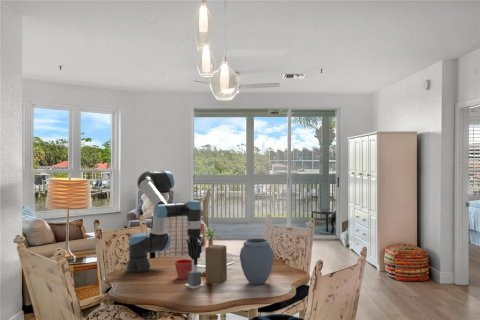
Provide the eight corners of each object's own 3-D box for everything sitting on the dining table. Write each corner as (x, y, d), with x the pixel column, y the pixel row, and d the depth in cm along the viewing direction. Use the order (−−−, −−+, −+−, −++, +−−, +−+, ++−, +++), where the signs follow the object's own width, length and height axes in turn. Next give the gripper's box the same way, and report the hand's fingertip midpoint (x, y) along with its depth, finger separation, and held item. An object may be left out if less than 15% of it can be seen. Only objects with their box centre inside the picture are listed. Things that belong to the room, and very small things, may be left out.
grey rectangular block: (188, 283, 235) (188, 271, 235) (196, 282, 238) (195, 270, 238) (193, 285, 231) (193, 273, 231) (201, 283, 234) (201, 272, 234)
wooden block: (227, 279, 247) (227, 245, 247) (221, 283, 237) (220, 248, 238) (211, 277, 250) (211, 244, 250) (205, 282, 241) (204, 247, 241)
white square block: (184, 285, 235) (184, 273, 235) (196, 282, 240) (196, 270, 240) (192, 288, 229) (192, 275, 229) (204, 285, 234) (204, 273, 234)
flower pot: (190, 280, 246) (190, 263, 246) (172, 279, 248) (172, 262, 248) (195, 275, 256) (195, 259, 256) (178, 274, 258) (178, 259, 259)
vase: (250, 290, 224) (249, 244, 224) (234, 281, 241) (233, 239, 242) (281, 285, 233) (280, 241, 233) (263, 277, 250) (262, 236, 251)
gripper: (182, 227, 237) (182, 269, 237) (194, 230, 227) (195, 273, 227) (193, 226, 242) (193, 267, 242) (206, 228, 232) (206, 271, 232)
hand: (194, 270), depth 234 cm, fingers closed
